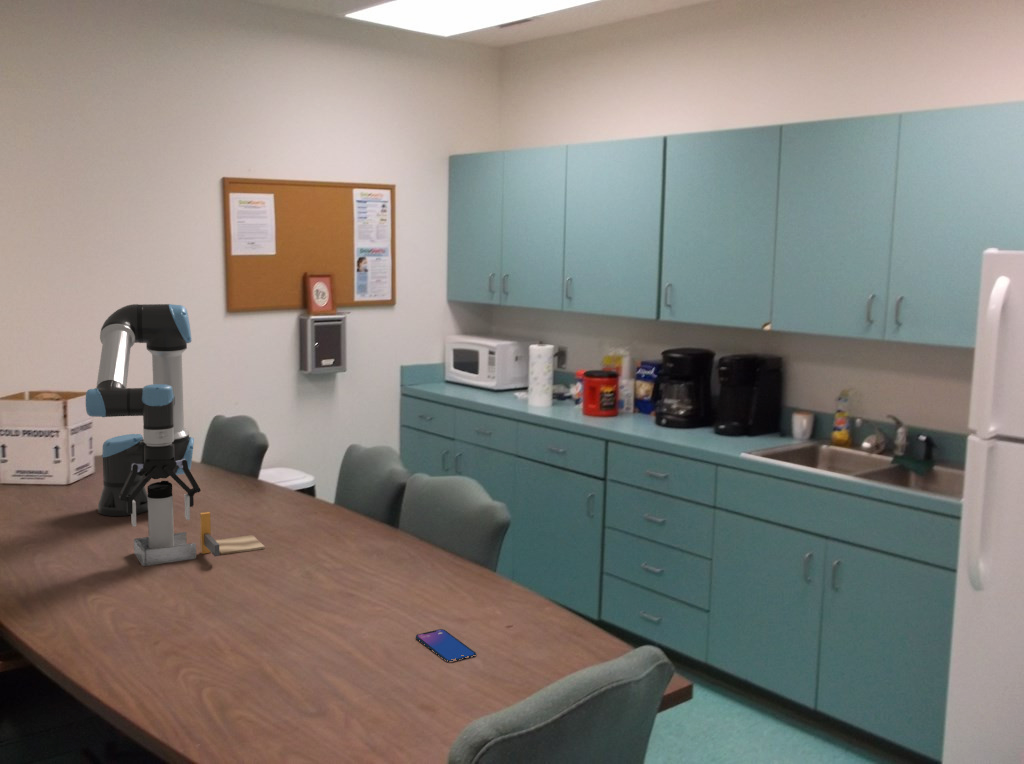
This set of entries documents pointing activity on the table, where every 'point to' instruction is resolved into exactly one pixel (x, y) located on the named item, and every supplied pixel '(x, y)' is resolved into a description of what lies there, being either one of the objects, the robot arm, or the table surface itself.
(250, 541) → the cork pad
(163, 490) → the travel mug
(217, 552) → the bar
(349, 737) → the table surface
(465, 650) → the smartphone
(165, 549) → the holder
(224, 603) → the table surface
